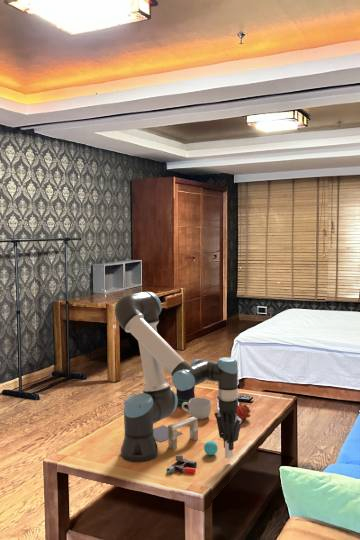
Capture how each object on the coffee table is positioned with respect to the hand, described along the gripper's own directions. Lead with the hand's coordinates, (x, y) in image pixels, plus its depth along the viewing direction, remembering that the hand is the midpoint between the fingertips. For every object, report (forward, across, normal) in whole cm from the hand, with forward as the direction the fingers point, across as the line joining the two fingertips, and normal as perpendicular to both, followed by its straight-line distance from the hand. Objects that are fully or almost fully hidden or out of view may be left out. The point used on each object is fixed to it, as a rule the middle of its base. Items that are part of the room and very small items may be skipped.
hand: (228, 456), depth 210 cm
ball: (-1, +10, 0) cm, 10 cm away
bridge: (+2, +26, 0) cm, 26 cm away
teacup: (+2, +43, -25) cm, 49 cm away
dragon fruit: (+2, +25, -36) cm, 44 cm away
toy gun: (+3, +7, +17) cm, 19 cm away
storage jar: (+2, +59, -33) cm, 67 cm away
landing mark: (+2, +40, 0) cm, 40 cm away
